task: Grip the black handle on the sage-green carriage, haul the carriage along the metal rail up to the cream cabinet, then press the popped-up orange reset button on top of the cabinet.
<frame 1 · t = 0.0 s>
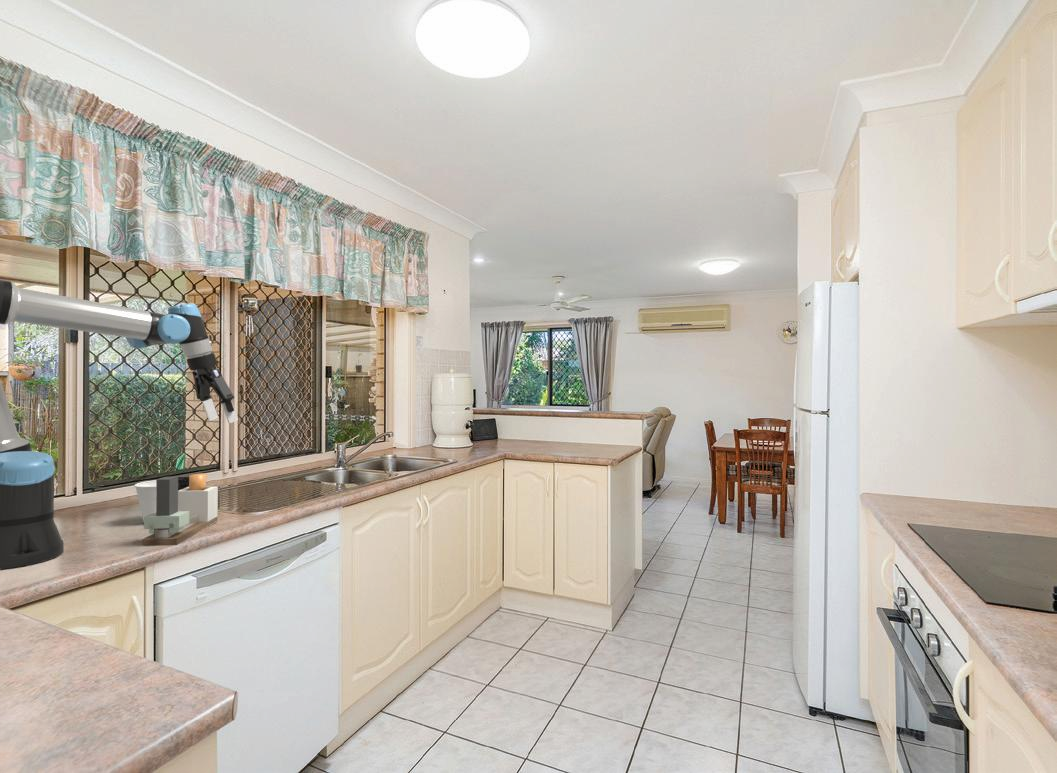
hand: (223, 420, 167), 28 cm above the worktop, tool tilted 20°, fingers open, 13 cm apart
reset button: (197, 483, 150), point 12 cm above the worktop, slide at 0.0 cm
supplement bottle: (185, 516, 159), on the worktop, touching cup
track: (182, 532, 142), on the worktop
carriage: (167, 504, 134), point 9 cm above the worktop, slide at 0.0 cm
cup: (156, 521, 152), on the worktop, touching supplement bottle
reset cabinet: (197, 524, 150), resting on track
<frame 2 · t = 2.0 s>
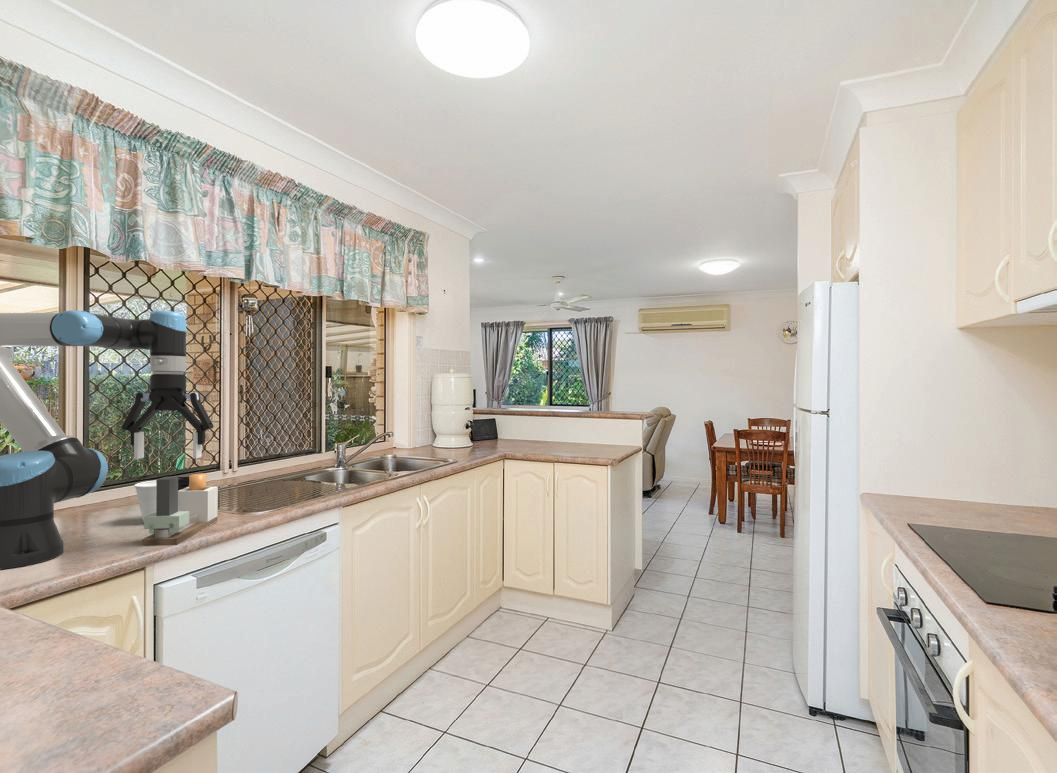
hand: (168, 458, 134), 21 cm above the worktop, tool pointing down, fingers open, 13 cm apart
reset button: (197, 483, 150), point 12 cm above the worktop, slide at 0.0 cm, touching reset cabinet
everything else where it was.
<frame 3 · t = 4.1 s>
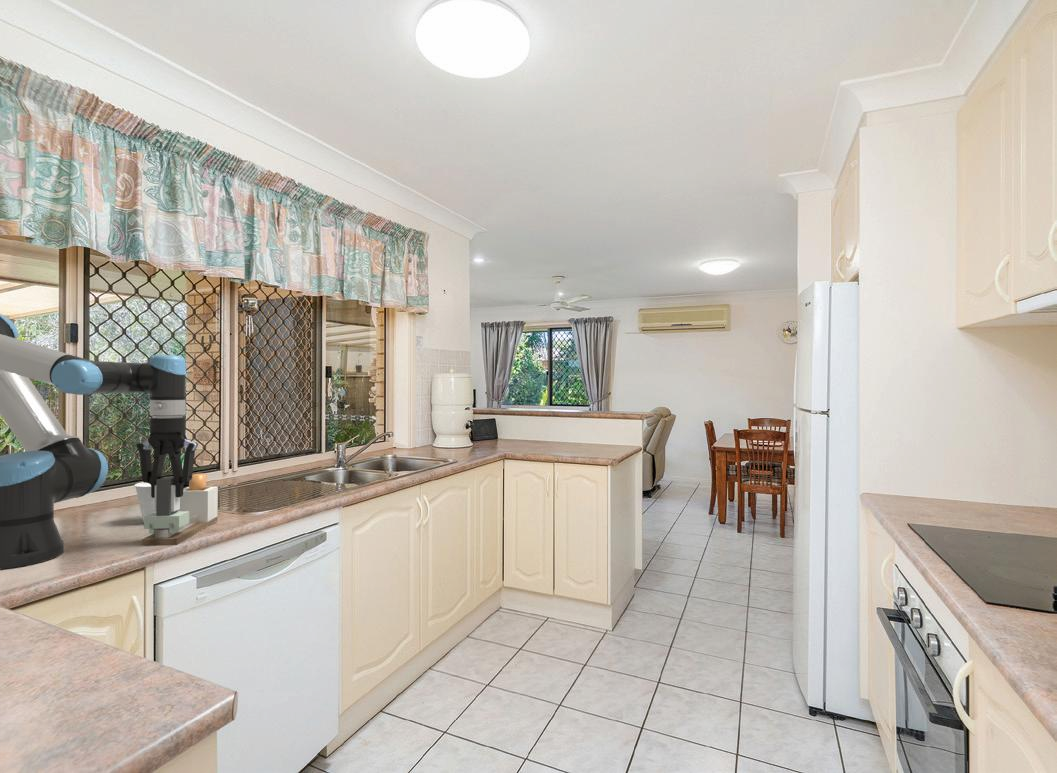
hand: (167, 510, 134), 8 cm above the worktop, tool pointing down, fingers closed on carriage, 3 cm apart
reset button: (197, 483, 150), point 11 cm above the worktop, slide at 0.0 cm
carriage: (167, 504, 134), point 9 cm above the worktop, slide at 0.0 cm, touching gripper
everything else where it was.
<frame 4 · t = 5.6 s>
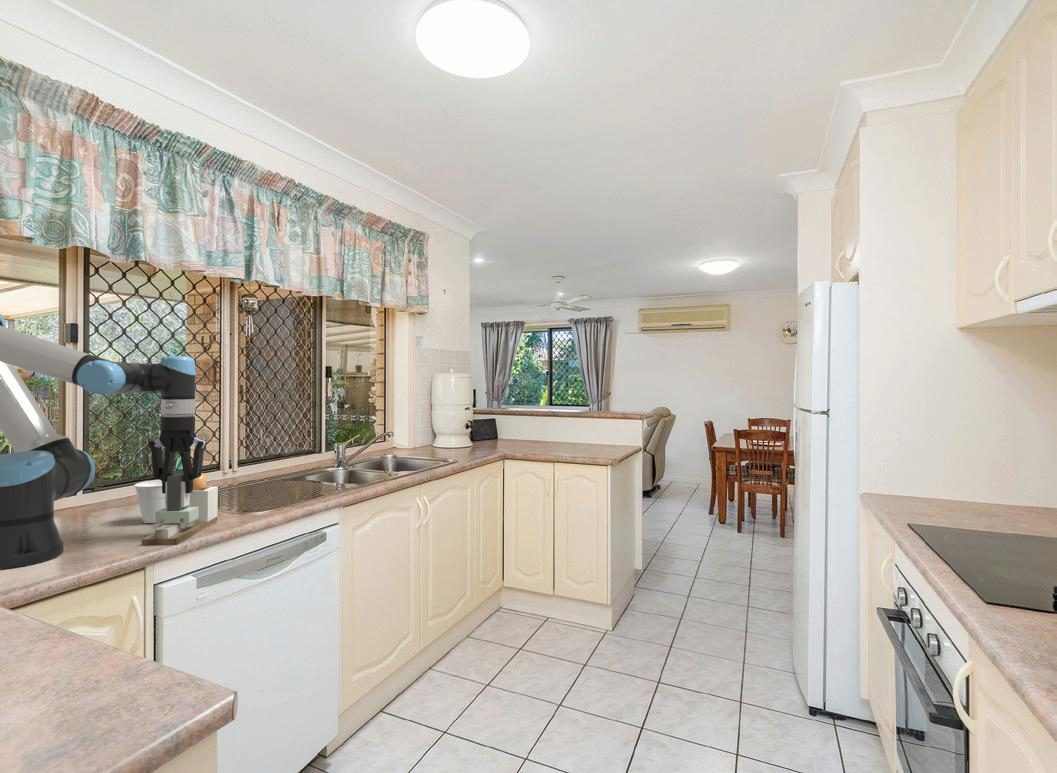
hand: (177, 505, 139), 8 cm above the worktop, tool pointing down, fingers closed on carriage, 3 cm apart
carriage: (177, 500, 139), point 9 cm above the worktop, slide at 4.8 cm, touching gripper
everything else where it was.
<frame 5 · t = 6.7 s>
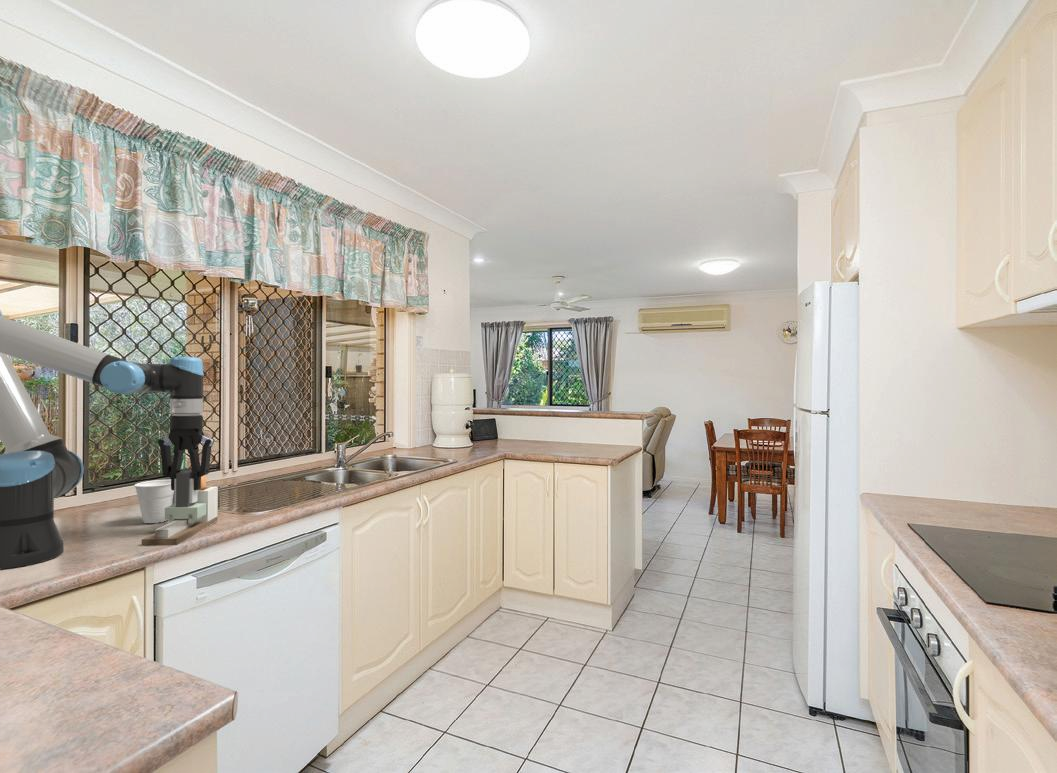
hand: (185, 502, 143), 8 cm above the worktop, tool pointing down, fingers closed on carriage, 3 cm apart
carriage: (186, 496, 143), point 9 cm above the worktop, slide at 9.1 cm, touching gripper
everything else where it was.
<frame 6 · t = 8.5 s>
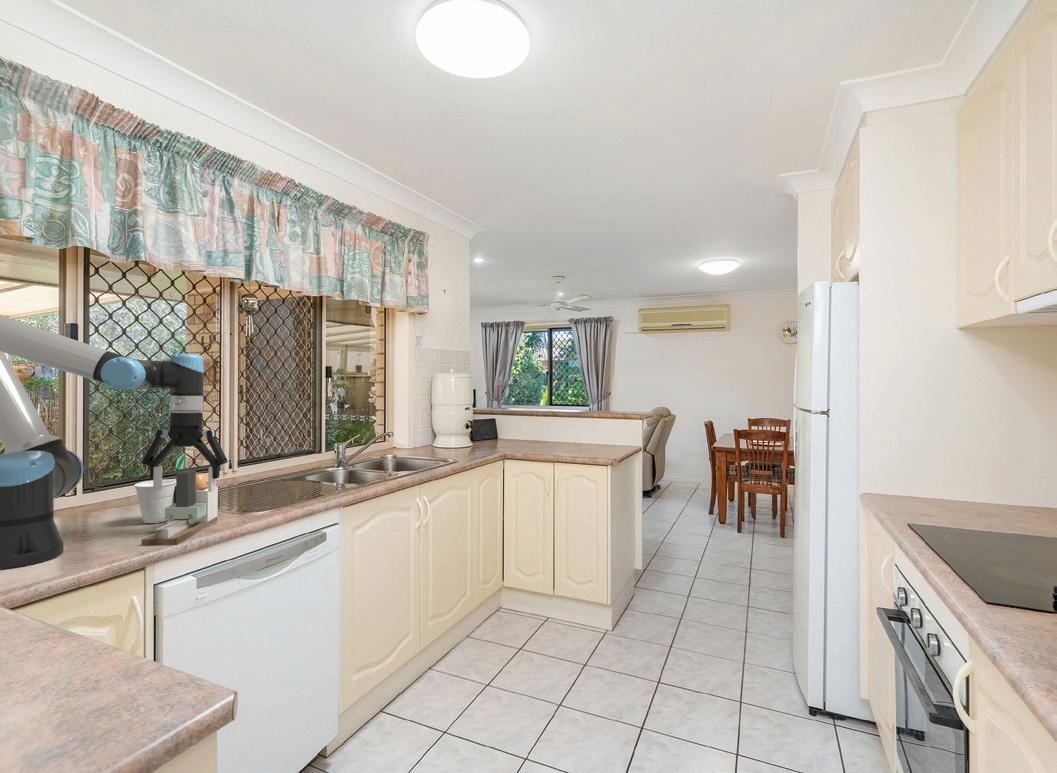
hand: (184, 491, 143), 11 cm above the worktop, tool pointing down, fingers open, 13 cm apart
carriage: (186, 496, 143), point 9 cm above the worktop, slide at 9.2 cm
everything else where it was.
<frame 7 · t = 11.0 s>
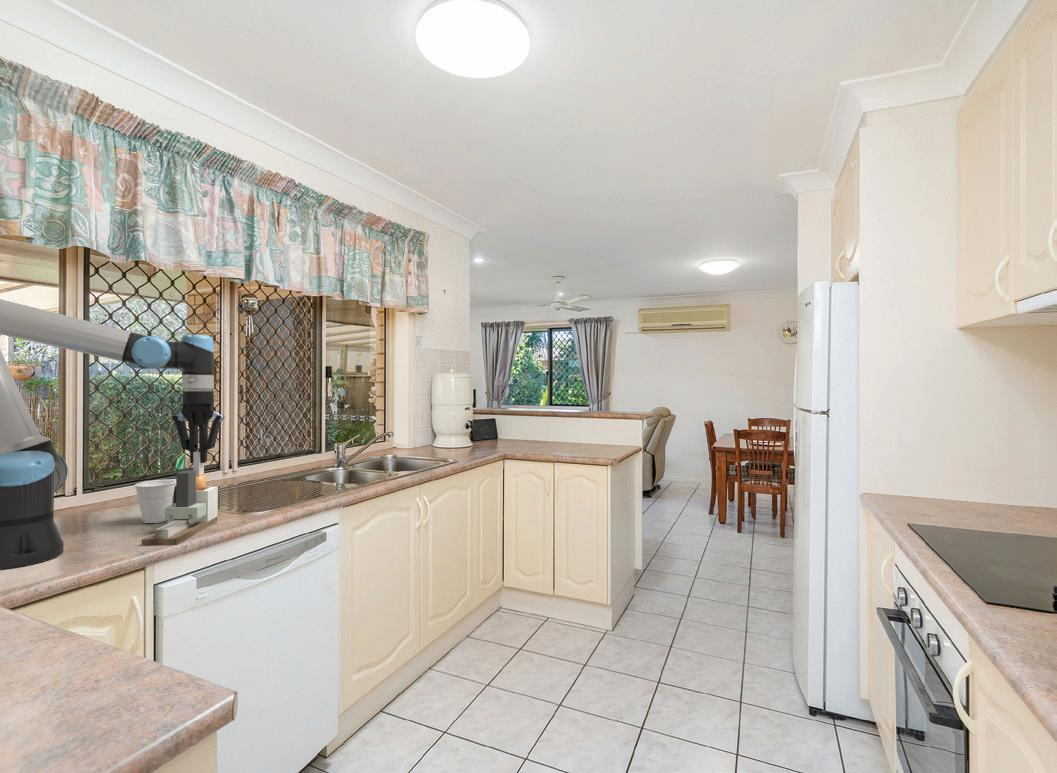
hand: (198, 474, 150), 14 cm above the worktop, tool pointing down, fingers closed
reset button: (197, 484, 150), point 11 cm above the worktop, slide at 0.2 cm, touching gripper, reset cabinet
everything else where it was.
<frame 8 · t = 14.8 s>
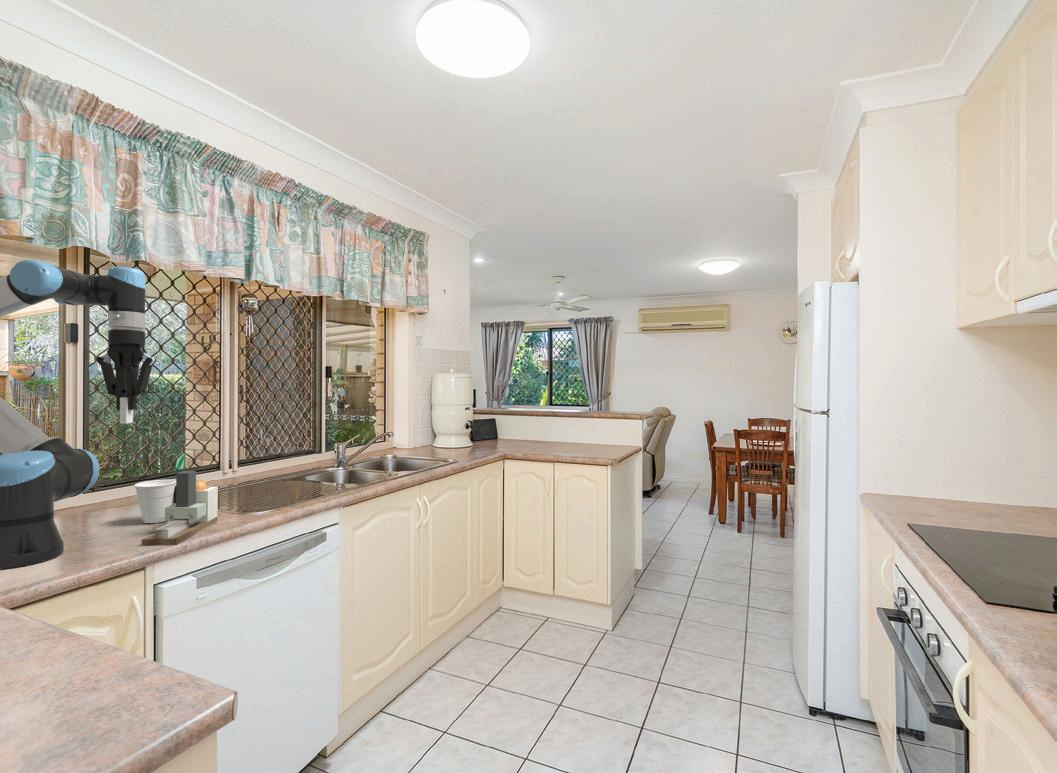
hand: (126, 423, 135), 29 cm above the worktop, tool pointing down, fingers closed
reset button: (197, 490, 150), point 9 cm above the worktop, slide at 2.0 cm, touching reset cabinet
everything else where it was.
at the end: carriage slide at 9.2 cm; reset button slide at 2.0 cm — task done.
